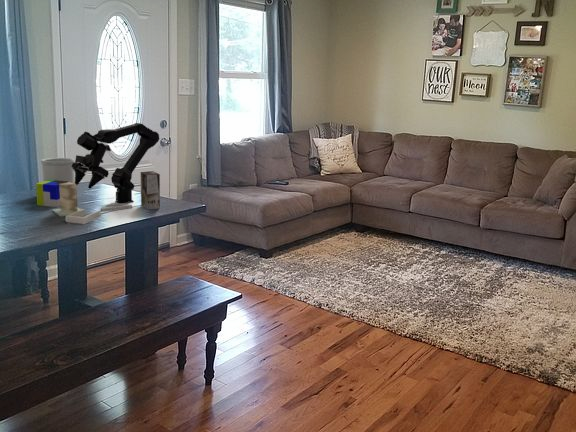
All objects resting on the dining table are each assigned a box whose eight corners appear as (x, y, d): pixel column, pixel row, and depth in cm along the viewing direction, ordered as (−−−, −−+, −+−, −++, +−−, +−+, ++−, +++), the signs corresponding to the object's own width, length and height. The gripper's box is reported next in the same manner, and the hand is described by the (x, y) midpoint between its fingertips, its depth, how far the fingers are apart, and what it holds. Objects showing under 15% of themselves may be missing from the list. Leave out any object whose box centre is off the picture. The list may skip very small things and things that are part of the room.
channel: (83, 214, 257) (82, 209, 256) (100, 216, 255) (100, 210, 254) (65, 221, 244) (65, 216, 243) (84, 223, 242) (83, 218, 242)
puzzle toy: (57, 207, 268) (56, 185, 265) (37, 205, 270) (35, 183, 267) (69, 202, 277) (68, 181, 275) (50, 200, 279) (48, 179, 277)
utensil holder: (39, 193, 292) (37, 158, 288) (70, 190, 301) (68, 156, 297) (48, 199, 281) (46, 162, 277) (80, 196, 290) (78, 160, 286)
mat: (77, 208, 267) (77, 206, 267) (86, 213, 259) (86, 212, 259) (52, 210, 261) (52, 209, 260) (60, 216, 252) (60, 215, 252)
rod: (130, 208, 273) (130, 204, 273) (132, 208, 272) (132, 205, 272) (100, 211, 265) (100, 207, 265) (102, 212, 264) (102, 208, 263)
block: (70, 208, 263) (68, 182, 260) (77, 210, 260) (76, 183, 257) (60, 210, 259) (59, 183, 256) (68, 212, 256) (66, 185, 253)
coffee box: (160, 208, 273) (160, 174, 269) (146, 209, 270) (146, 174, 266) (154, 204, 281) (153, 170, 277) (140, 205, 277) (140, 171, 273)
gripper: (69, 144, 265) (55, 176, 262) (97, 149, 256) (83, 182, 252) (87, 156, 274) (73, 186, 271) (115, 161, 265) (101, 192, 261)
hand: (82, 186), depth 263 cm, fingers open, 9 cm apart
